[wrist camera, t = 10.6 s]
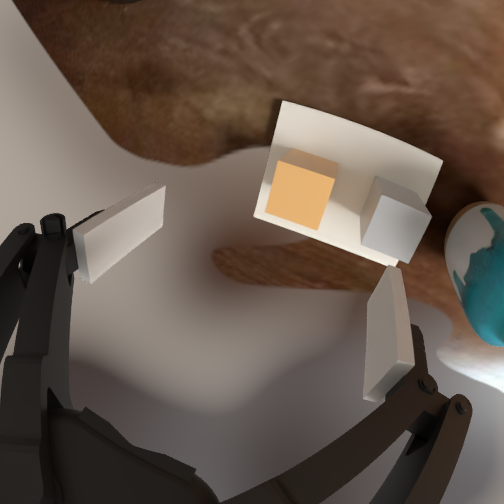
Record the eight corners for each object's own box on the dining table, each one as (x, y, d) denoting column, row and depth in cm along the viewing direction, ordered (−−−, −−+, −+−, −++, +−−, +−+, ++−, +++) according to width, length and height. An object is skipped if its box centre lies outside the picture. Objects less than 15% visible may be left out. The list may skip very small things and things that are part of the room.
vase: (430, 270, 32) (463, 397, 16) (438, 187, 27) (512, 284, 12) (498, 270, 28) (552, 381, 13) (511, 192, 24) (604, 279, 8)
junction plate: (256, 213, 36) (231, 242, 29) (285, 100, 29) (264, 100, 22) (393, 263, 33) (399, 304, 27) (440, 158, 26) (465, 177, 19)
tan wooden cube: (281, 190, 33) (264, 212, 27) (293, 148, 30) (278, 160, 24) (324, 205, 32) (317, 230, 26) (338, 163, 29) (335, 179, 23)
